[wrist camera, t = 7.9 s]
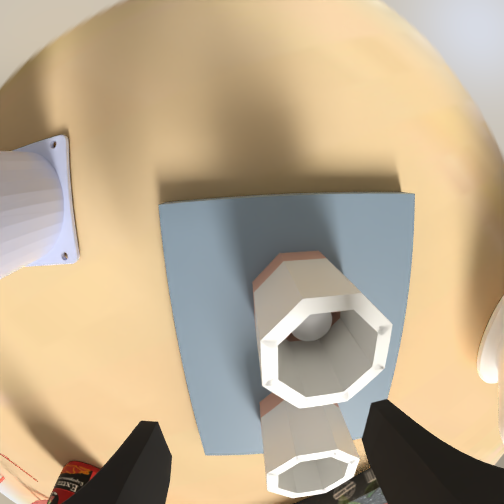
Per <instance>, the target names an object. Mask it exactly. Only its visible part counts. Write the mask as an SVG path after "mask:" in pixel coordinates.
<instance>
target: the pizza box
mask: <svg viewBox="0 0 504 504" xmlns="http://www.w3.org/2000/svg"><path fill="white" fill-rule="evenodd" d="M294 504H388V503H387V501H386V499H385V497H384V495H383V493H382V490H381V488H380V486H379V484H378V482H377V479H376V477H375V475H374V473H373V471H372V468H369V469H367V470H366V471H364V472H362V473H360V474H358V475H356V476H354V477H352V478H351V479H349V480H347V481H346V482H344V483H342V484H341V485H339V486H337V487H335V488H334V489H332V490H330V491H328V492H327V493H322V494H316V495H314V496H312V497H309V498H307V499H304V500H302V501H299V502H296V503H294Z"/></svg>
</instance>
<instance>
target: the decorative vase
mask: <svg viewBox="0 0 504 504" xmlns="http://www.w3.org/2000/svg"><path fill="white" fill-rule="evenodd" d="M477 371H478V374H479V376H480V377H481V378H482V379H483V380H484V381H485V382H487V383H496V382H498V424H499V432H500V436H501V439H502V442H503V444H504V295H503V297H502V298H501V300H500V302H499V303H498V305H497V307H496V308H495V310H494V312H493V314H492V316H491V318H490V320H489V322H488V324H487V327H486V329H485V332H484V334H483V337H482V340H481V343H480V347H479V351H478V356H477Z"/></svg>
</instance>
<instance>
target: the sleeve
mask: <svg viewBox="0 0 504 504" xmlns="http://www.w3.org/2000/svg"><path fill="white" fill-rule="evenodd" d="M252 284H253V300H254V319H255V328H256V337H257V346H258V354H259V363H260V372H261V381H262V386H263V387H265V388H266V389H268V390H270V391H271V392H273V393H274V394H276V395H278V396H279V397H281V398H283V399H284V400H286V401H288V402H289V403H291V404H293V405H294V406H296V407H298V408H307V407H314V406H321V405H327V404H333V403H339V402H345V401H348V400H349V399H350V398H352V397H353V396H354V395H355V394H356V393H358V392H359V391H360V390H361V389H362V388H363V387H365V386H366V385H367V384H368V383H369V382H370V381H371V380H373V379H374V378H375V377H376V376H377V375H378V374H379V373H380V372H381V371H382V370H383V369H385V364H386V359H387V354H388V349H389V343H390V337H391V331H392V325H393V324H392V323H391V322H390V321H389V320H388V319H387V318H386V317H385V316H384V315H383V314H382V313H381V312H380V311H379V310H378V309H377V308H376V307H375V306H374V305H373V304H372V303H371V302H370V301H369V300H368V299H367V298H366V297H365V296H364V295H363V294H362V293H361V292H360V291H359V290H358V289H357V288H356V287H355V286H354V285H353V284H352V283H351V282H350V281H349V280H348V279H347V278H346V277H345V276H344V275H343V274H342V273H341V272H340V271H339V270H338V269H337V268H336V267H335V266H334V265H333V264H332V263H331V262H330V261H329V260H328V259H327V258H326V257H325V256H324V255H323V254H322V253H321V252H319V251H305V252H290V253H279V254H278V255H277V256H276V257H275V258H274V259H273V261H272V262H271V263H270V264H269V265H268V266H267V267H266V268H265V269H264V270H263V271H262V272H261V273H260V274H259V275H258V277H257V278H256V279H255V280H254V281H253V282H252ZM329 312H331V315H332V324H331V327H330V329H329V331H328V332H327V333H326V334H325V335H324V336H323V337H321V338H319V339H317V340H314V341H302V340H299V339H298V338H296V337H295V336H294V335H293V334H292V332H293V331H294V330H295V329H296V328H297V327H298V326H299V325H300V324H301V323H302V322H303V321H304V320H305V319H306V318H307V317H308V316H309V315H310V314H319V313H329Z"/></svg>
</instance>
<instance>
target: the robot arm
mask: <svg viewBox="0 0 504 504" xmlns="http://www.w3.org/2000/svg"><path fill="white" fill-rule="evenodd" d="M55 141H56V143H57V144H56V147H55V148H54V146H53V145H54V142H55ZM65 253H67V255H68V259H67V258H66V257H65ZM79 257H80V253H79V248H78V241H77V235H76V228H75V221H74V213H73V204H72V194H71V182H70V166H69V141H68V138H67V136H65V135H58V136H54V137H51V138H48V139H44V140H41V141H38V142H35V143H32V144H29V145H26V146H24V147H21V148H18V149H15V150H13V151H0V279H2V278H3V277H5V276H7V275H9V274H11V273H13V272H15V271H17V270H19V269H20V268H22V267H27V266H42V265H57V264H72V263H75V262H77V261H78V260H79ZM362 441H363V445H364V449H365V452H366V455H367V459H368V462H369V464H370V466H371V468H372V471H373V473H374V475H375V477H376V479H377V482H378V484H379V486H380V488H381V490H382V493H383V495H384V497H385V499H386V501H387V503H388V504H504V468H500V467H497V466H494V465H491V464H488V463H485V462H482V461H480V460H477V459H475V458H473V457H471V456H469V455H467V454H464V453H462V452H460V451H459V450H457V449H455V448H453V447H452V446H450V445H448V444H447V443H445V442H443V441H442V440H440V439H439V438H437V437H436V436H434V435H433V434H431V433H430V432H429V431H427V430H426V429H424V428H423V427H422V426H420V425H419V424H418V423H416V422H415V421H414V420H412V419H411V418H410V417H409V416H407V415H406V414H405V413H404V412H402V411H401V410H400V409H399V408H397V407H396V406H395V405H394V404H392V403H391V402H390V401H389V400H387V399H384V400H381V401H376V402H372V403H371V405H370V409H369V414H368V417H367V421H366V425H365V429H364V433H363V436H362ZM171 461H172V455H171V453H170V451H169V448H168V446H167V444H166V441H165V439H164V436H163V434H162V431H161V429H160V426H159V424H158V422H152V421H141V422H139V424H138V425H137V426H136V427H135V429H134V430H133V431H132V433H131V434H130V435H129V436H128V438H127V439H126V440H125V441H124V443H123V444H122V445H121V446H120V448H119V449H118V450H117V451H116V452H115V454H114V455H113V456H112V457H111V458H110V459H109V461H108V462H107V463H106V464H105V465H104V466H103V467H102V468H101V469H100V470H99V471H98V472H97V473H96V474H95V475H94V476H93V477H92V478H91V479H90V480H89V481H88V482H87V483H86V484H85V485H84V486H83V487H82V488H81V489H80V490H78V491H77V492H76V493H75V494H73V495H72V496H71V497H70V498H68V499H67V500H65V501H64V502H63V503H61V504H165V502H166V497H167V492H168V488H169V483H170V474H171Z"/></svg>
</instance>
